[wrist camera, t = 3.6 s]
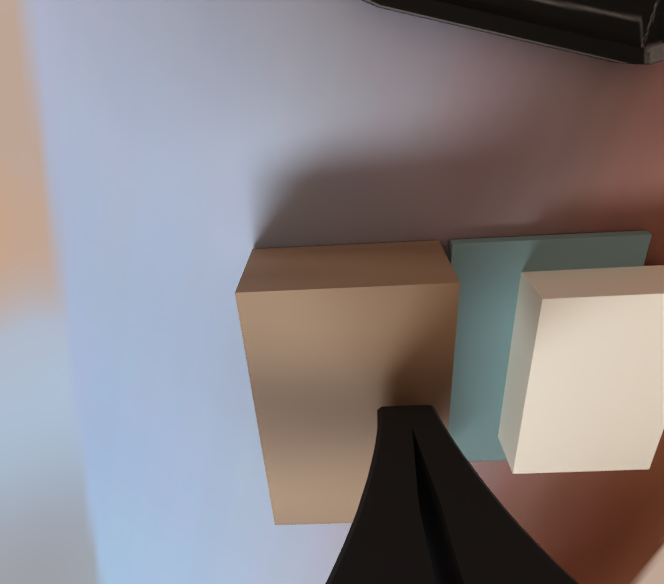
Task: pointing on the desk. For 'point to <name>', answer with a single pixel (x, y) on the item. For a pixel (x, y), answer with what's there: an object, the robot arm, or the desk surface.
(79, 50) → the desk surface
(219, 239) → the desk surface
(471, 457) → the mat
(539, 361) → the cream rectangular block
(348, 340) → the block
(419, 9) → the phone
